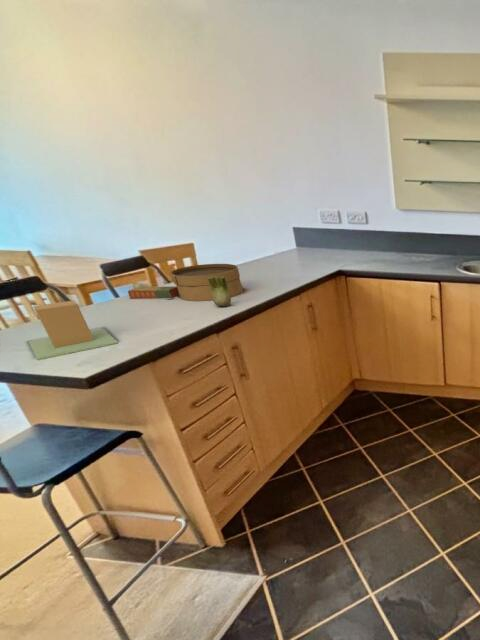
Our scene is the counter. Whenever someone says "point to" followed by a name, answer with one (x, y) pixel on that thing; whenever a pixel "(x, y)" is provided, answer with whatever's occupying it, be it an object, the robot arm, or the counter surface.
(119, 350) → the counter surface
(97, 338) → the mat
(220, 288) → the fennel bulb
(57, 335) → the packet
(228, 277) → the steamer basket
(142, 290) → the carton
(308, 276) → the counter surface
